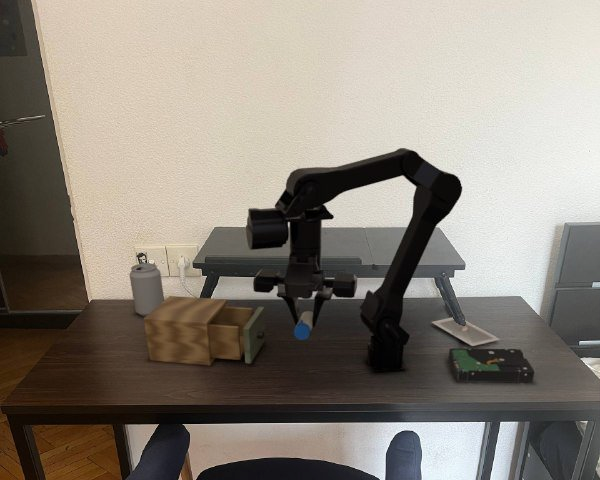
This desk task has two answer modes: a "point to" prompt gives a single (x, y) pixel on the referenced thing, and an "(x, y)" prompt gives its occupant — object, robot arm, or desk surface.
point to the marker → (304, 326)
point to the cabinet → (182, 329)
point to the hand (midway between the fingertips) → (305, 325)
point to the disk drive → (490, 365)
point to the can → (146, 287)
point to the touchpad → (466, 332)
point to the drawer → (237, 333)
